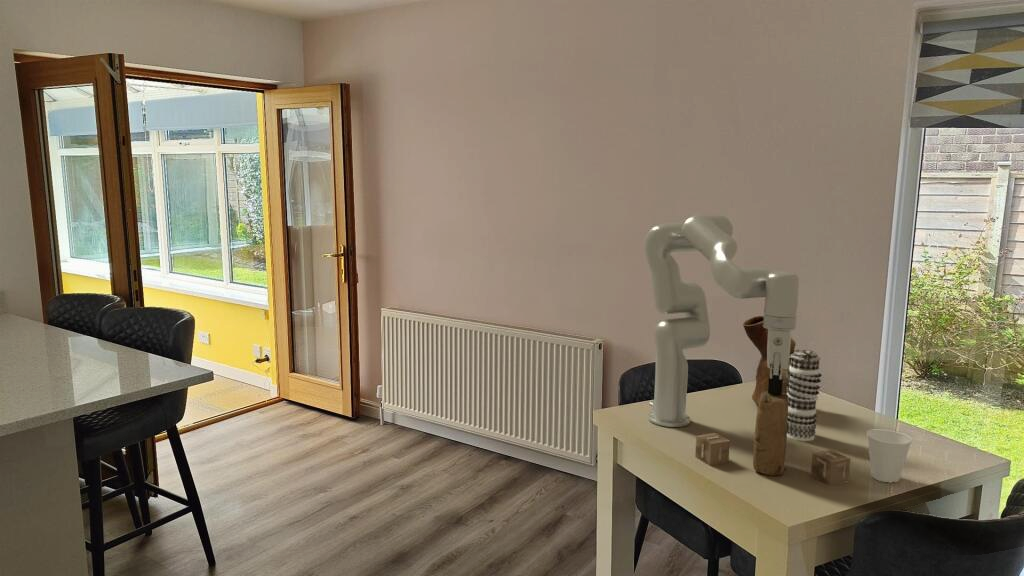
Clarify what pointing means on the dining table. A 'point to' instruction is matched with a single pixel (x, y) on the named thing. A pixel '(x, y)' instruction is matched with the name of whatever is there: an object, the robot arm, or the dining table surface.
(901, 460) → the cup
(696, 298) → the robot arm
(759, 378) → the ceramic vessel
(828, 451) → the walnut cube
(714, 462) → the walnut cube
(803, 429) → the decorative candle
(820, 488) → the dining table surface
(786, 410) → the block
